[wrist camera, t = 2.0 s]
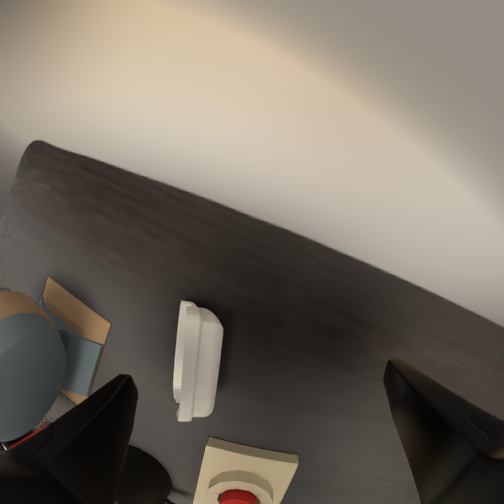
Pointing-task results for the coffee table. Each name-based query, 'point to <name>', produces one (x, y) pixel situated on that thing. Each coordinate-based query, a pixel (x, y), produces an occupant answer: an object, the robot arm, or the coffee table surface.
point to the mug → (142, 480)
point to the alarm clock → (45, 354)
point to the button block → (243, 472)
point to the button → (238, 497)
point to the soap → (196, 361)
